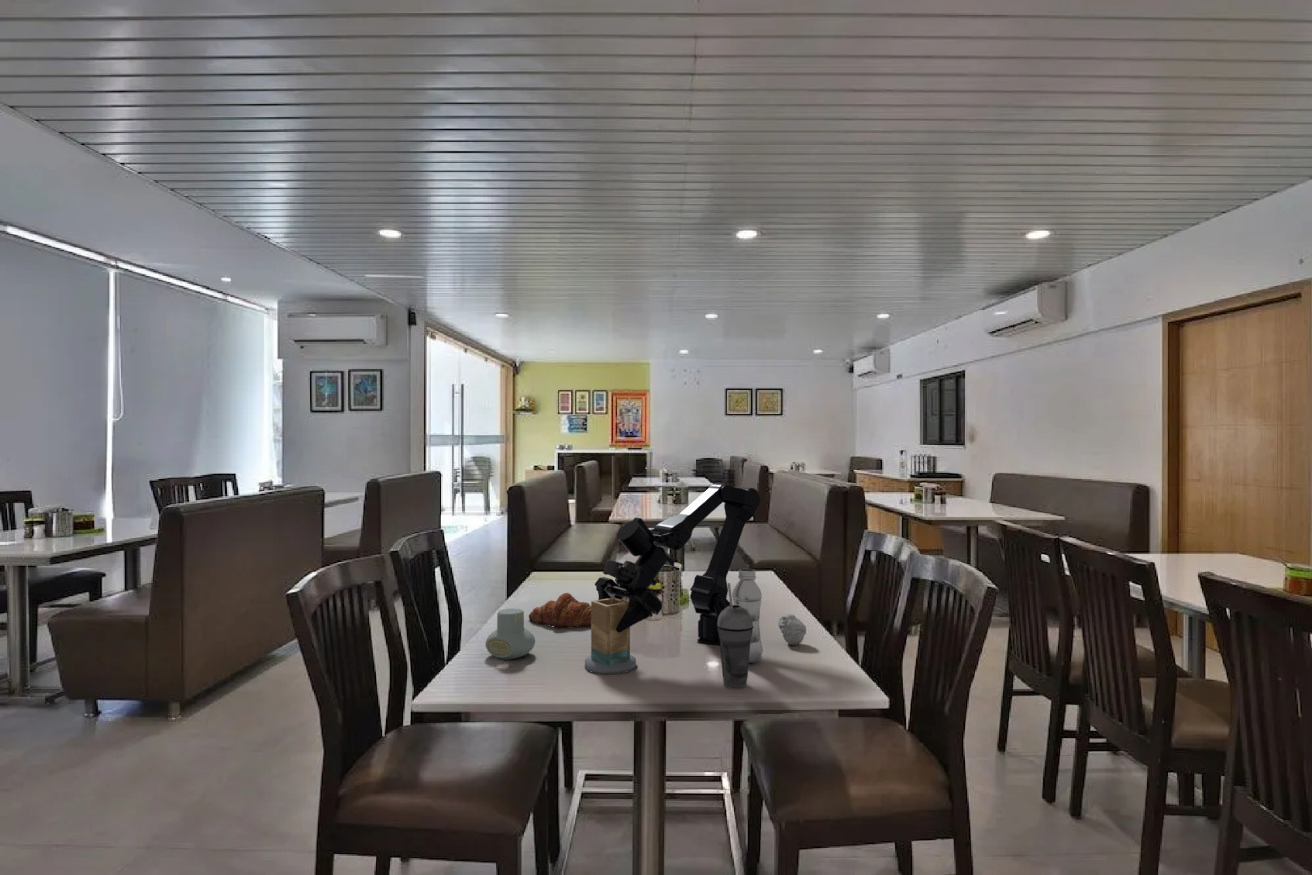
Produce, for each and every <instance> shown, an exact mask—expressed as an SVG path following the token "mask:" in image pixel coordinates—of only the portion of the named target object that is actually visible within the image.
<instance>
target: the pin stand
mask: <svg viewBox="0 0 1312 875" xmlns="http://www.w3.org/2000/svg"><path fill="white" fill-rule="evenodd" d="M636 667H637V658H636V657H635V656H633V655H632V654H630V661H627V662H623V663H619V664H615V665H611V666H605V665H602V664H600V663H598V662H596V661H594V660H592V659H591V655H589V656H587V657H586V658H585V659H584V669H585V668H586V669H587V671H588V672H590V671H592V672H591V673H593V672H595V673H594V674H597V673H600V674H599V675H620V674H624V673H623V672H625V673H627V672H626V671H628V672H631V671H633V670H634V669H635V668H636ZM586 669H585V670H586ZM619 673H620V674H619Z"/></svg>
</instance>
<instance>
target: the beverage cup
mask: <svg viewBox="0 0 1312 875" xmlns="http://www.w3.org/2000/svg"><path fill="white" fill-rule="evenodd" d="M727 587H728V598H729V600H728V601H729V602H730V606H728V607H726V608H725V609H724V610H722V612H721V613H720V615H719V617H718V622H717V628H718V635H719V638H720V645H719V648H720V661H721V672H722V674H721V675H722V678H723V679H722V680H723V686H724V687H725V688H729V689H734V690H737V689H738V690H739V689H744V688H746V687H747V683H748V677H749V666H750V665H749V664H750V663H749V654H750V641H751V637H752V630H753V624H752V619H751V616H750V614H749V613H748V611H747V610H746V609H744V608H743V607H741V606H738V605H734V603H733V595H732V588H731V583H730V582H727Z"/></svg>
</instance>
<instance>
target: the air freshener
mask: <svg viewBox="0 0 1312 875" xmlns="http://www.w3.org/2000/svg"><path fill="white" fill-rule="evenodd" d="M496 614H497V616H496V617H497V618H496V619H497V620H496V630H494V631H492V632H491V633H490V634H488V637H486V639H485V648H486V650H487V652H488V653H489V654H490V655H491V656H493V657H496V658H498V659H500V660H503V661H504V660H505V661H507V660H508V661H509V660H513V659H519V658H523V657H524V656H526V655H527V654H529V653H530V652H531V651H532V650H533V649H534V647H535V644H536V638H535V635H534V634H533V633H532V632H531V631H530V630H528V629H527V628H525V616H524V614H525V611H524V610H523V609H520V608H504V609H500V610H499V611H497V613H496Z"/></svg>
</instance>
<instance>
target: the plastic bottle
mask: <svg viewBox="0 0 1312 875" xmlns="http://www.w3.org/2000/svg"><path fill="white" fill-rule="evenodd" d="M737 577H738V579H739V581H738V582H737V583H736V585H735V586H734V588H733V590H732V592H731V595H732V603H733V605H738V606H741V607H743V608H744V609H746V610H747V611H748V613H749V614H750V616H751V619H752V624H753V630H752V637H751V641H750V654H749V664H750V663H751V664H752V663H753V664H754V663H758V662H760V660H761V659H762V656H763V642H762V640H761V631H760V617H761V613H760V612H761V604H762V595H763V594H762V591H761V589H760V587H759V585H758V584H757V582H756V579H757V577H756V569H754V568H740V569H739V570H738V576H737Z"/></svg>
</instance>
